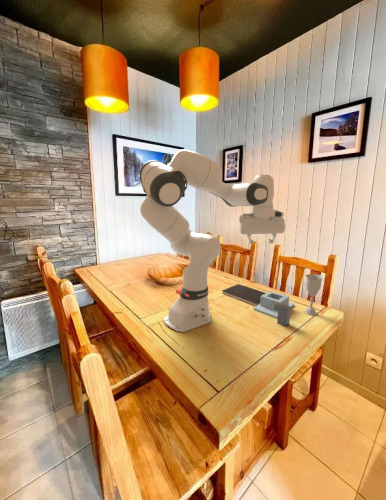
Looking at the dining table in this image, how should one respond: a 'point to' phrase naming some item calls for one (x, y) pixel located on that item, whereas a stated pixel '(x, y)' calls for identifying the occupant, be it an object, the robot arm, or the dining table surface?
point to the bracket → (283, 314)
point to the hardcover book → (244, 294)
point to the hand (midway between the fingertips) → (261, 243)
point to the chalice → (312, 290)
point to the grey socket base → (272, 303)
